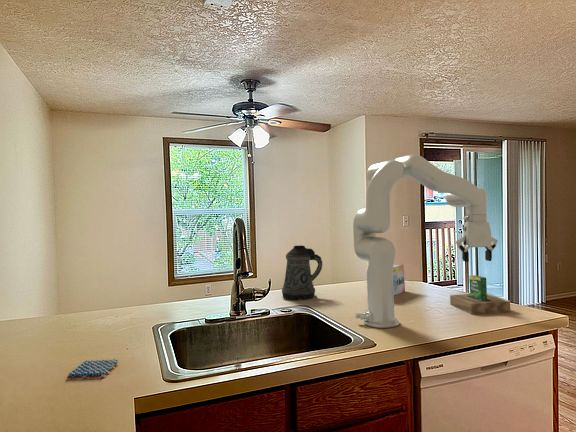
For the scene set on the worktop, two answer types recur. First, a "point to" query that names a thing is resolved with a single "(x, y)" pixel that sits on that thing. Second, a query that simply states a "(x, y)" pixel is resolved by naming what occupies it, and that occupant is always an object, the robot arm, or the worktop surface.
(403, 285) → the gum box
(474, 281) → the coffee box
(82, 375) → the woven mat
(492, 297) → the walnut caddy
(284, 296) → the beer stein
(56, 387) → the worktop surface
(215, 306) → the worktop surface
